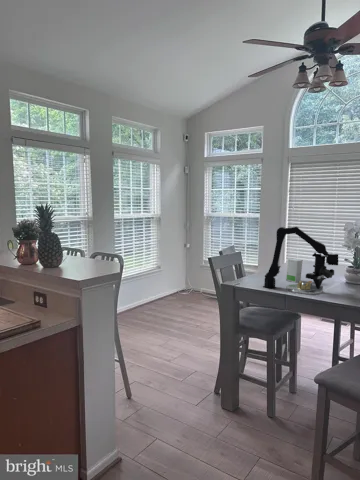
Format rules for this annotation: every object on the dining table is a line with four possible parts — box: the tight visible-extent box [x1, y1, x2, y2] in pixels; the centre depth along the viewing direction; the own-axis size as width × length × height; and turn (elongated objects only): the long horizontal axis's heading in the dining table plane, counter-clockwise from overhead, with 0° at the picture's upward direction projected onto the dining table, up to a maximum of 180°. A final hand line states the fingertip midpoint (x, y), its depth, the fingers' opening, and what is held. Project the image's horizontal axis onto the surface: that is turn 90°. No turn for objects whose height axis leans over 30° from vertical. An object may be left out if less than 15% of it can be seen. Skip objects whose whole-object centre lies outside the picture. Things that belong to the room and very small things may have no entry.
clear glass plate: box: [285, 280, 324, 295], centre depth 224 cm, size 22×22×4 cm
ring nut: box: [297, 280, 324, 290], centre depth 223 cm, size 15×8×4 cm, turn 62°
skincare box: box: [285, 258, 303, 283], centre depth 250 cm, size 8×7×16 cm
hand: (318, 288), depth 218 cm, fingers closed
